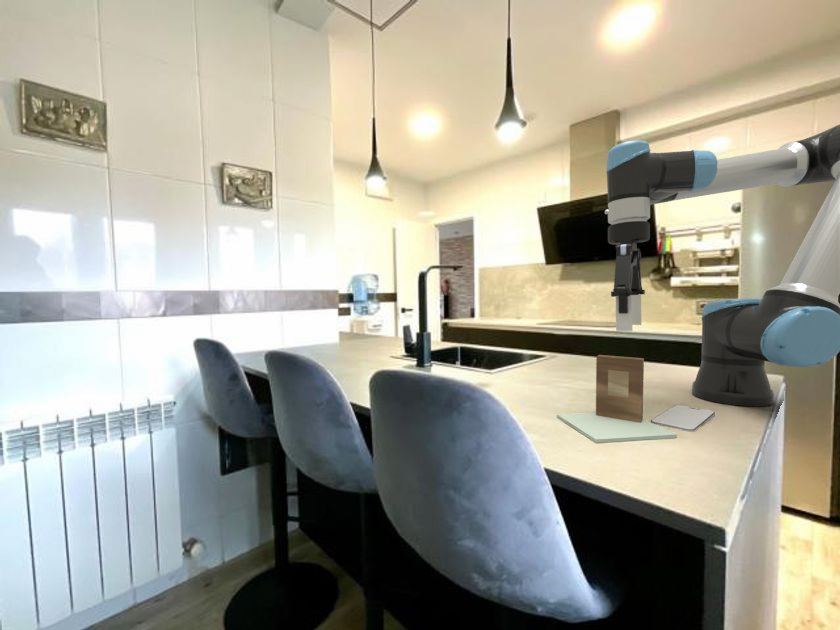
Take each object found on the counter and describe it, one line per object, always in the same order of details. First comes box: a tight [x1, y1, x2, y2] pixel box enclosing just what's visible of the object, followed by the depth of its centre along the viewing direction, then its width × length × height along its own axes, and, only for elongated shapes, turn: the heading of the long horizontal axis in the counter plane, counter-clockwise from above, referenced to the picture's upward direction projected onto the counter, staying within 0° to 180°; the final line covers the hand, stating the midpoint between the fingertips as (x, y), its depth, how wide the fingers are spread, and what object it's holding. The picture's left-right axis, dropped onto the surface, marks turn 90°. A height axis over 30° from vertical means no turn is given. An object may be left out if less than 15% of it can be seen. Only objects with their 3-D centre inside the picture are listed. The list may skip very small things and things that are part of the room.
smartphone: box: [650, 404, 716, 433], centre depth 78 cm, size 7×1×15 cm
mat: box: [556, 411, 678, 444], centre depth 74 cm, size 15×14×1 cm
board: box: [595, 354, 645, 423], centre depth 77 cm, size 2×8×12 cm, turn 52°
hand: (629, 327), depth 80 cm, fingers open, 13 cm apart
